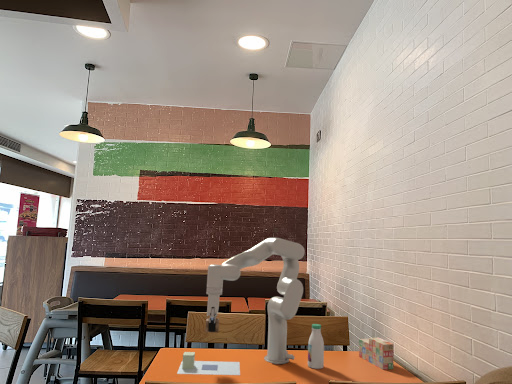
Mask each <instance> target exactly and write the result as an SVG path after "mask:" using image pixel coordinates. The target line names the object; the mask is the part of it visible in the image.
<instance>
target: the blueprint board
mask: <svg viewBox="0 0 512 384" xmlns="http://www.w3.org/2000/svg"><path fill="white" fill-rule="evenodd" d="M182 364H183V360H182V361H181V362H180V365H179V368H178V370H177V372H176V374H177V375H211V376H212V375H214V376H215V375H216V376H217V375H218V376H219V375H220V376H241V369H240V368H241V367H240V365H241V363H240V361H216V360H215V361H211V360H210V361H209V360H206V361H205V360H194V368H193V369H182Z"/></svg>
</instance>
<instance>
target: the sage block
mask: <svg viewBox="0 0 512 384" xmlns="http://www.w3.org/2000/svg"><path fill="white" fill-rule="evenodd" d="M195 356H196V352H195V351H184V352H183V353H182V361H183V364H182V369H193V368H194V361H196V359H195Z"/></svg>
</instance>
